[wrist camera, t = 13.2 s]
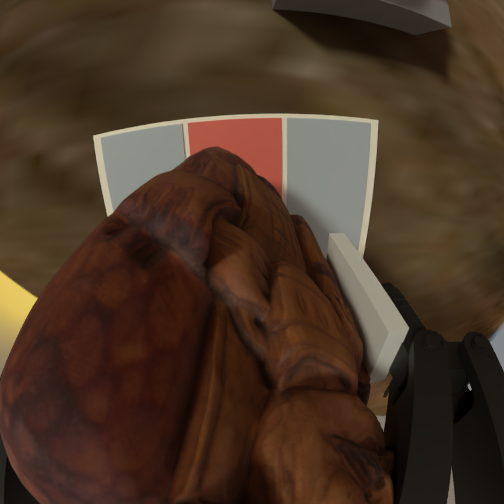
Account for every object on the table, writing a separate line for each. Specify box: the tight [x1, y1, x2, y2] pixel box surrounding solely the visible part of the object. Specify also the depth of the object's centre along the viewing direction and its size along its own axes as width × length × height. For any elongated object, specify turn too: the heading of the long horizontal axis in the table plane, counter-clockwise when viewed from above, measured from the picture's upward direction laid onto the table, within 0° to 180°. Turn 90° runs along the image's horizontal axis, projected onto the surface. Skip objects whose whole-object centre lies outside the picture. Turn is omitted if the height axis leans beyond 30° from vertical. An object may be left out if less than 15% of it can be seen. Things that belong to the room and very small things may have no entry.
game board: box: [93, 114, 378, 259], centre depth 21 cm, size 22×13×1 cm, turn 92°
